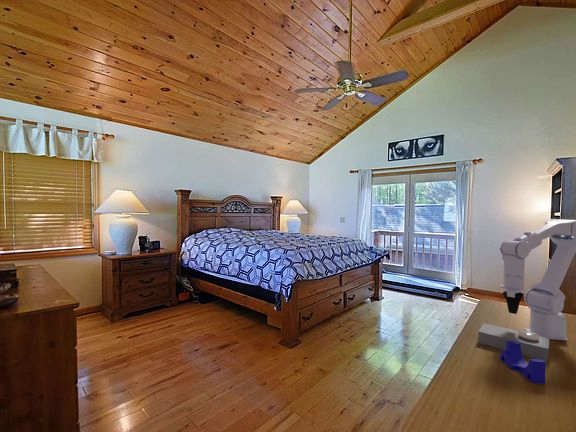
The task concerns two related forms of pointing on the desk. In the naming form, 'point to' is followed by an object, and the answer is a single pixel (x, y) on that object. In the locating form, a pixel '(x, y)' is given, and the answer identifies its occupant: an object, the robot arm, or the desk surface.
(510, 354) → the cable clip
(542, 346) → the grey flat block
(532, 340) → the headed pin
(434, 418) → the desk surface
